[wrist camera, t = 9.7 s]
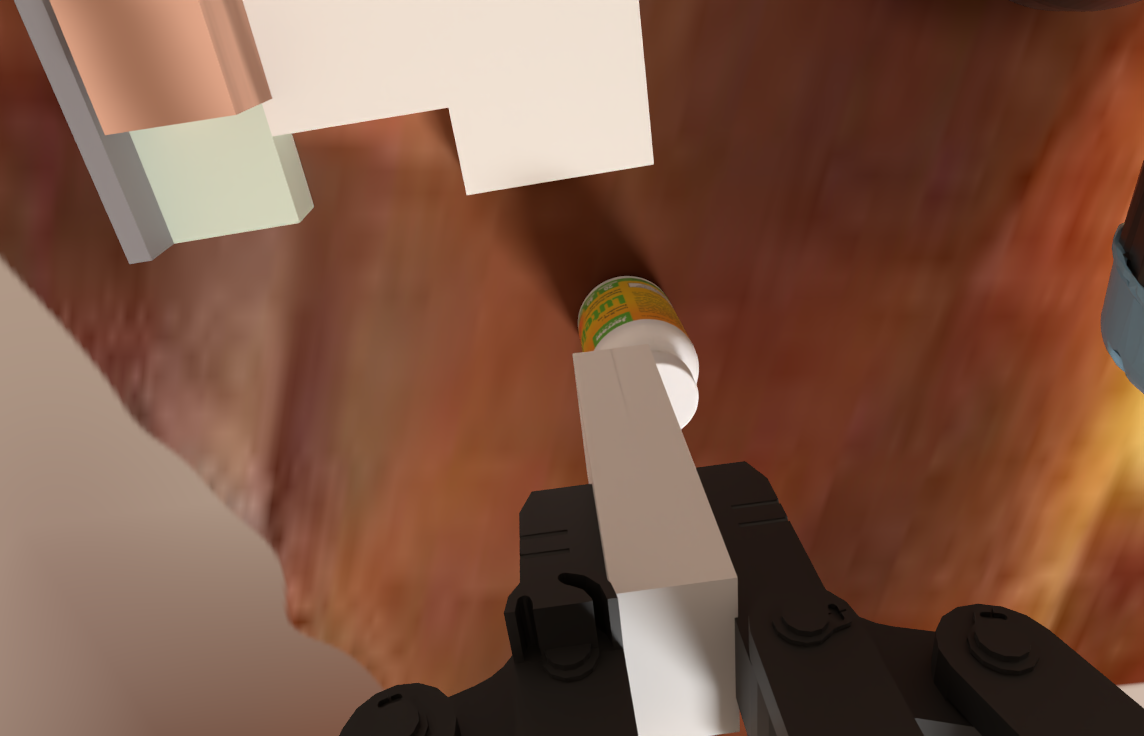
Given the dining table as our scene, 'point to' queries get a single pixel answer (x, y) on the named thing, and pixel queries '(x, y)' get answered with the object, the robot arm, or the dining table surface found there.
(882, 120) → the dining table surface
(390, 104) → the board
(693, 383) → the supplement bottle
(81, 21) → the block
